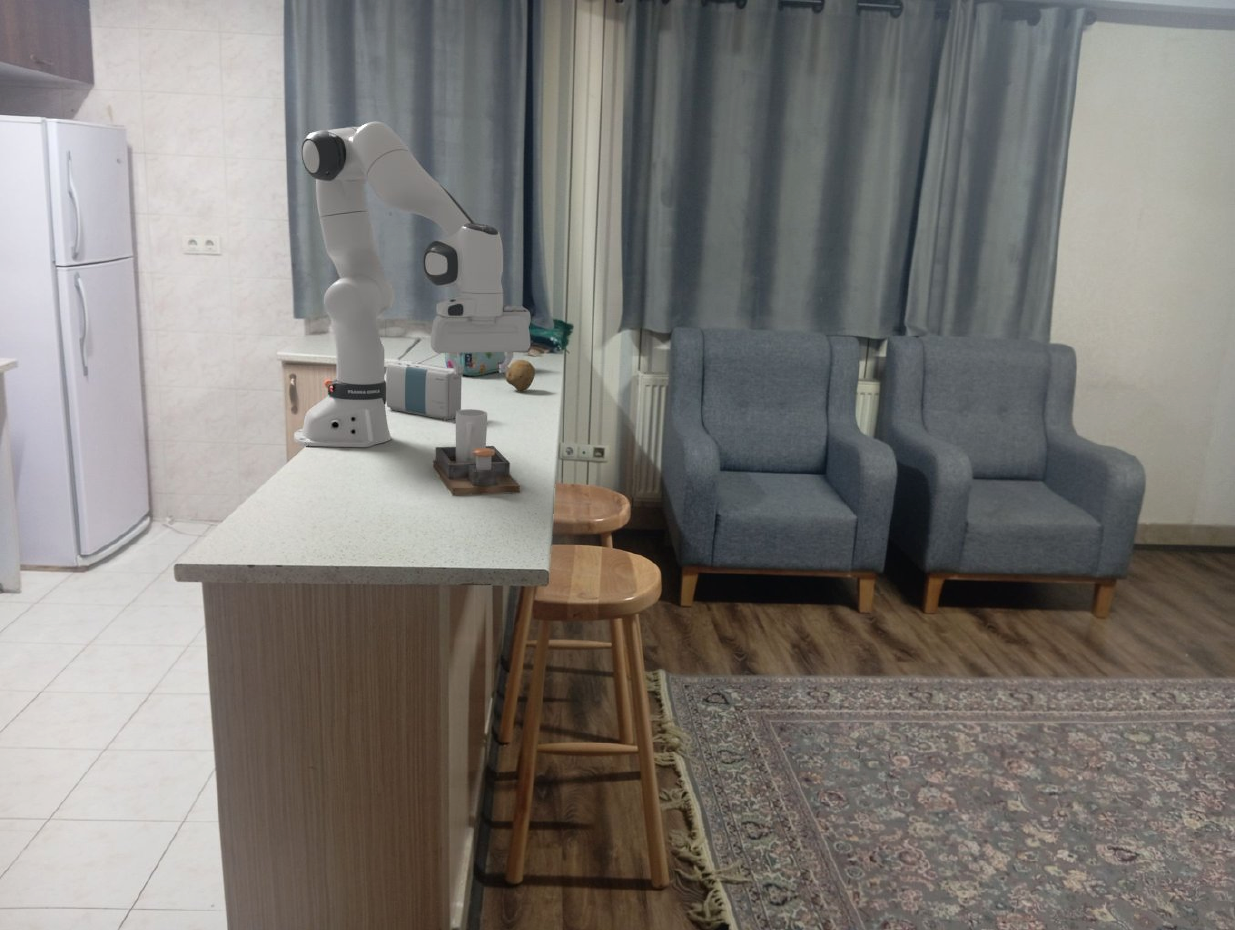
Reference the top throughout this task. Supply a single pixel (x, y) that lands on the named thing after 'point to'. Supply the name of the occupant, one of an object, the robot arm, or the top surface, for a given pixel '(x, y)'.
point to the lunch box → (477, 362)
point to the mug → (470, 434)
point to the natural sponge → (520, 375)
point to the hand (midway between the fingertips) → (481, 373)
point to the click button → (483, 458)
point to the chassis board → (474, 474)
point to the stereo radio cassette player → (423, 389)
